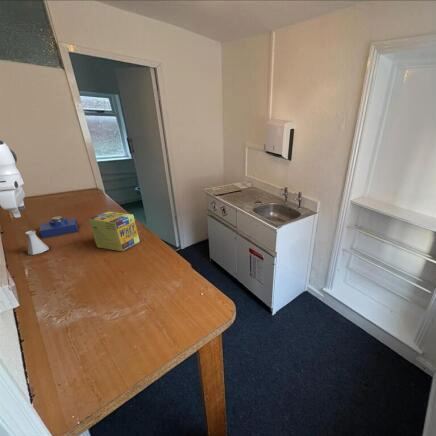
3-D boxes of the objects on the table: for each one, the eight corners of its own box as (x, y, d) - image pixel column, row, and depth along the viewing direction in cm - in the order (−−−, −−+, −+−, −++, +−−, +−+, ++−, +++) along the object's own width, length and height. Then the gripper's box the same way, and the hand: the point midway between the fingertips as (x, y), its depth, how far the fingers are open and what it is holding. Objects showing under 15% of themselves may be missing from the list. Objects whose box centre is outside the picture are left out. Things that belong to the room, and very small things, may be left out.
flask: (45, 245, 114) (37, 227, 110) (52, 249, 111) (44, 230, 107) (24, 252, 108) (15, 233, 104) (31, 256, 105) (22, 237, 101)
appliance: (42, 238, 120) (37, 227, 118) (44, 230, 128) (40, 220, 125) (77, 231, 128) (74, 221, 126) (78, 224, 136) (74, 215, 134)
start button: (52, 222, 125) (51, 219, 124) (53, 220, 127) (52, 217, 127) (62, 220, 127) (61, 218, 126) (63, 218, 130) (61, 215, 129)
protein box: (123, 251, 111) (115, 222, 105) (96, 247, 114) (87, 218, 108) (140, 241, 121) (134, 214, 115) (115, 237, 123) (107, 210, 117)
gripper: (0, 176, 98) (14, 207, 103) (-14, 188, 84) (3, 223, 89) (22, 175, 102) (34, 204, 107) (12, 186, 88) (27, 219, 93)
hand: (20, 213), depth 98 cm, fingers open, 8 cm apart
